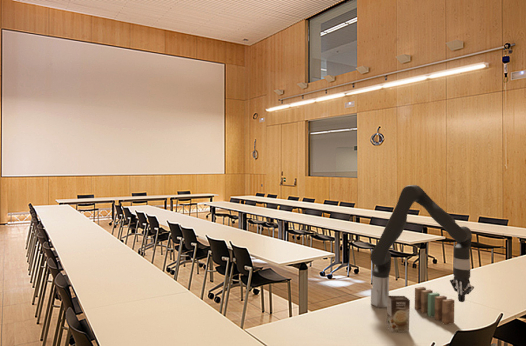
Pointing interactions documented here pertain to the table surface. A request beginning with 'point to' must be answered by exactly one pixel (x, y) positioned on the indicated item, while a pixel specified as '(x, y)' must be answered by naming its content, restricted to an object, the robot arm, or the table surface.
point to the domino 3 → (432, 303)
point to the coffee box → (398, 313)
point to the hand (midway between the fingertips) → (461, 301)
